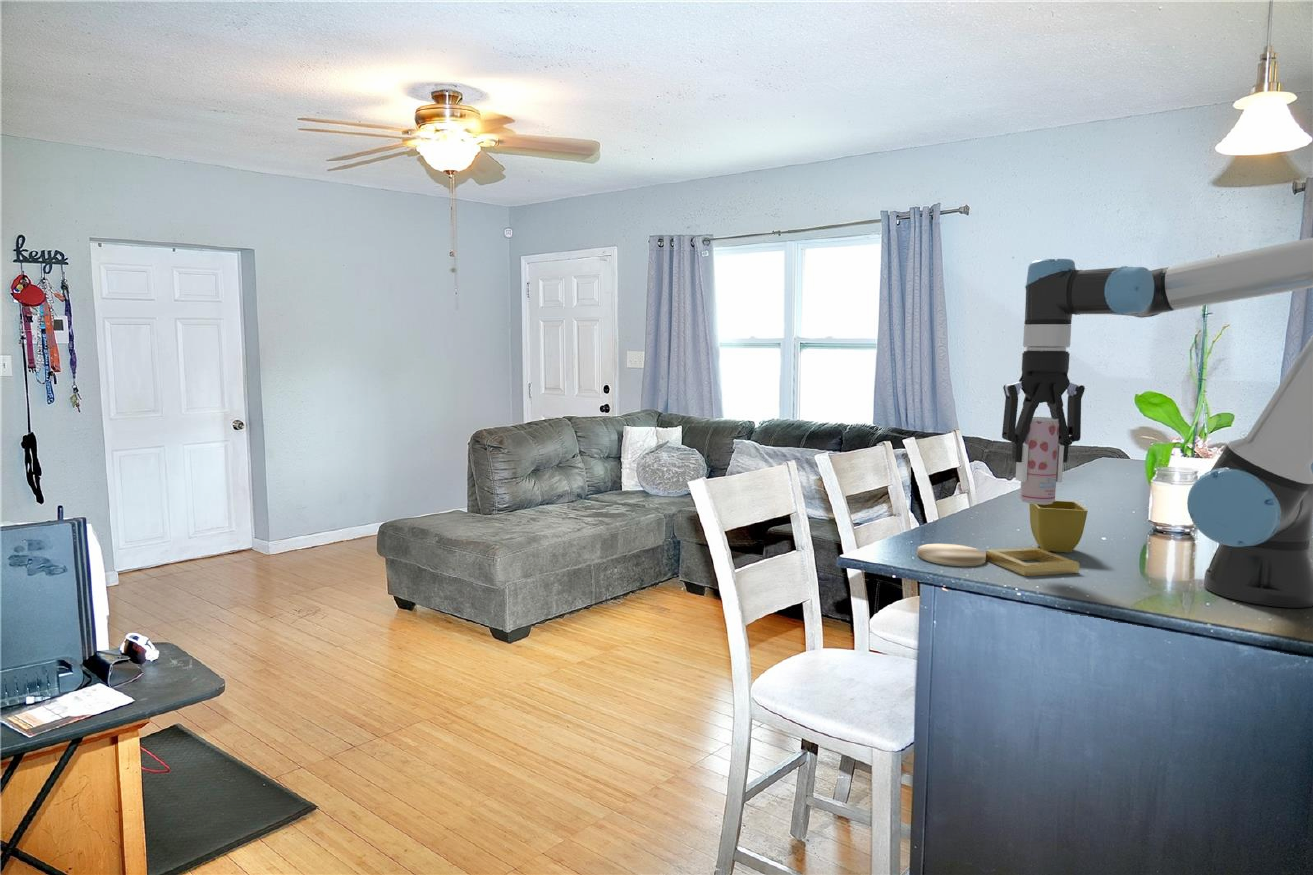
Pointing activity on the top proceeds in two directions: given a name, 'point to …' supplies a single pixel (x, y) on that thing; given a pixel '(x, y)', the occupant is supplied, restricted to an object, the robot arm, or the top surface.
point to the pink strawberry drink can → (1041, 461)
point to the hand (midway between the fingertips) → (1038, 480)
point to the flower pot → (1057, 525)
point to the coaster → (951, 554)
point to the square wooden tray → (1046, 566)
